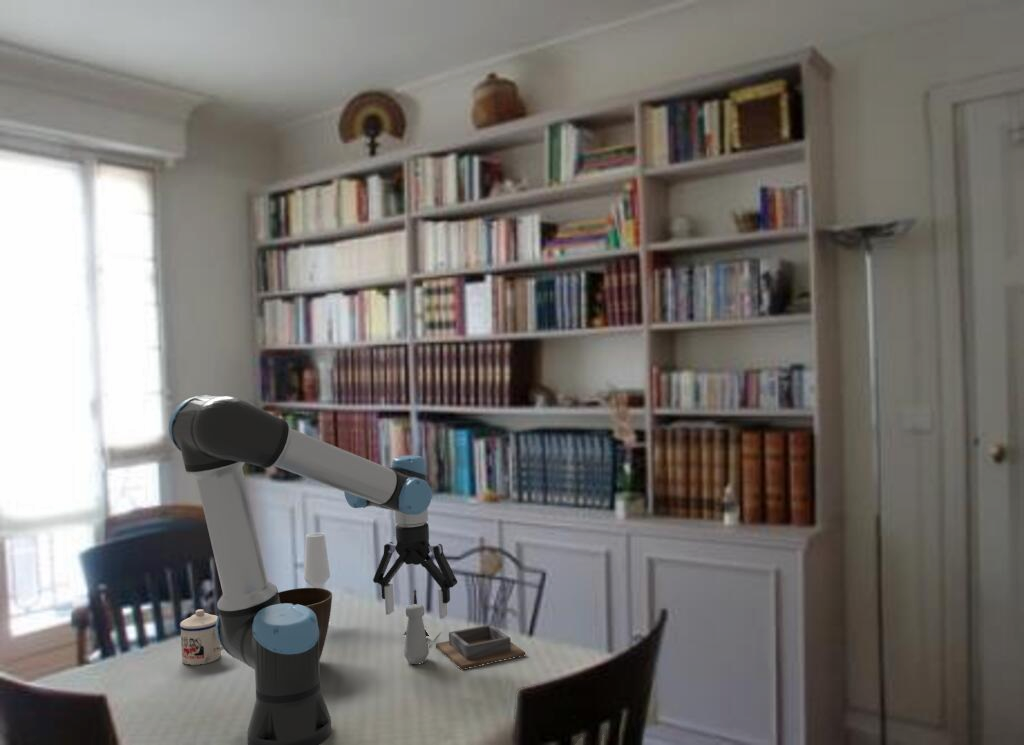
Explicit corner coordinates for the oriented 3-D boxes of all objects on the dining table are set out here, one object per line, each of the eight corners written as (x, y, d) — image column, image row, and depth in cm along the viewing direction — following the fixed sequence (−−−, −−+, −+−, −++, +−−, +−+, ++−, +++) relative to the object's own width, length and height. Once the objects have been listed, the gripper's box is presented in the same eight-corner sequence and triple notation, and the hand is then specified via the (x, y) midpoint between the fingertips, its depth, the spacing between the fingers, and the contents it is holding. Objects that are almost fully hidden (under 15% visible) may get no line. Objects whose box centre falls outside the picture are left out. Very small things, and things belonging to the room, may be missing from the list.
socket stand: (525, 656, 189) (524, 639, 188) (461, 670, 182) (460, 652, 181) (496, 635, 203) (495, 619, 203) (435, 647, 196) (435, 631, 196)
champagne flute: (324, 618, 220) (321, 530, 220) (336, 624, 215) (332, 534, 214) (301, 624, 216) (297, 534, 215) (312, 630, 211) (309, 538, 210)
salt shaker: (398, 664, 186) (396, 607, 186) (413, 655, 191) (411, 600, 191) (420, 667, 184) (418, 610, 183) (434, 659, 189) (432, 603, 188)
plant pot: (311, 682, 177) (308, 609, 177) (253, 675, 182) (251, 604, 182) (346, 657, 192) (344, 589, 191) (292, 651, 196) (289, 585, 196)
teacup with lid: (172, 663, 191) (170, 614, 190) (199, 650, 199) (197, 603, 199) (213, 669, 187) (211, 619, 186) (240, 655, 195) (238, 606, 195)
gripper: (468, 521, 186) (472, 612, 187) (371, 518, 194) (376, 606, 195) (455, 528, 179) (460, 624, 180) (355, 525, 187) (360, 616, 188)
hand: (416, 614), depth 187 cm, fingers open, 13 cm apart
